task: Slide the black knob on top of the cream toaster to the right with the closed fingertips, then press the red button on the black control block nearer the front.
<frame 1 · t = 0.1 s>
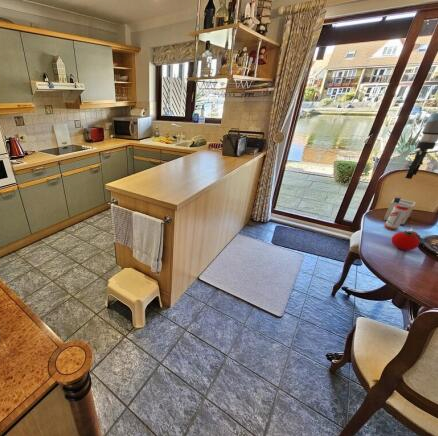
hand: (410, 176, 154), 29 cm above the table, tool pointing down, fingers open, 13 cm apart
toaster: (394, 220, 163), on the table
toaster slider: (397, 199, 157), point 15 cm above the table, slide at 0.0 cm
beer can: (390, 229, 153), on the table
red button: (412, 233, 138), point 4 cm above the table, slide at 0.1 cm
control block: (408, 240, 140), on the table
tomato: (400, 248, 134), on the table
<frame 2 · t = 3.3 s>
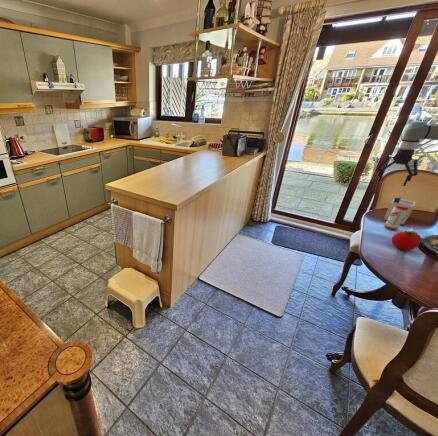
hand: (391, 183, 157), 24 cm above the table, tool pointing down, fingers open, 11 cm apart
nothing on the table moved.
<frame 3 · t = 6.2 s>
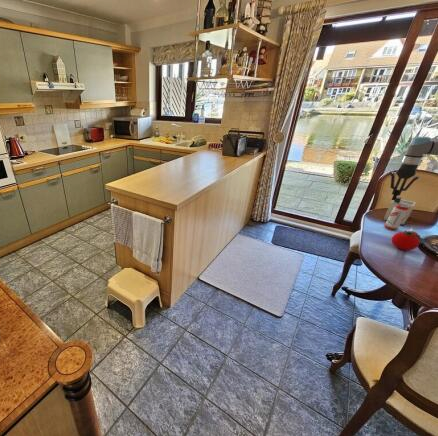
hand: (393, 199, 159), 14 cm above the table, tool pointing down, fingers closed
toaster slider: (397, 199, 157), point 15 cm above the table, slide at 0.2 cm, touching gripper
everything else where it was.
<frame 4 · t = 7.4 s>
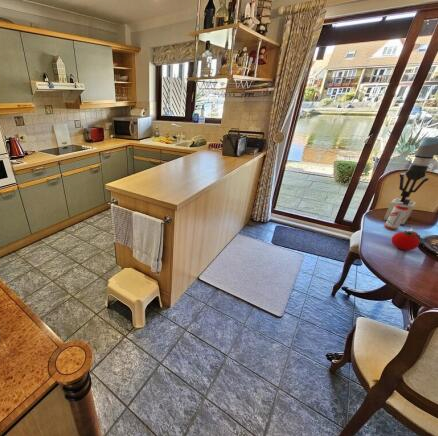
hand: (402, 201, 156), 14 cm above the table, tool pointing down, fingers closed
toaster slider: (406, 201, 154), point 15 cm above the table, slide at 4.4 cm, touching gripper
everything else where it was.
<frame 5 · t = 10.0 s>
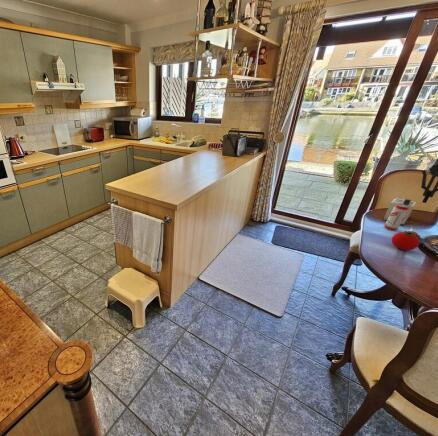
hand: (424, 202, 134), 22 cm above the table, tool pointing down, fingers closed
toaster slider: (407, 201, 154), point 15 cm above the table, slide at 4.7 cm
everything else where it was.
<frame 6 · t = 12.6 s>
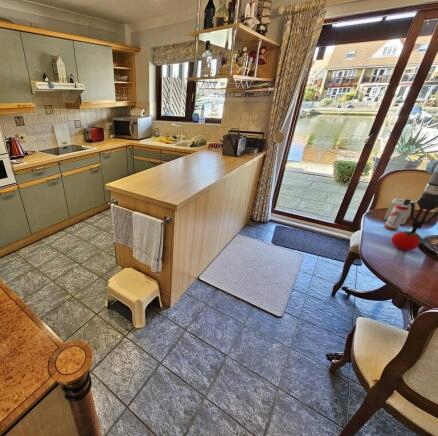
hand: (412, 232, 138), 5 cm above the table, tool pointing down, fingers closed
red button: (412, 234, 138), point 4 cm above the table, slide at -0.1 cm, touching gripper
everything else where it was.
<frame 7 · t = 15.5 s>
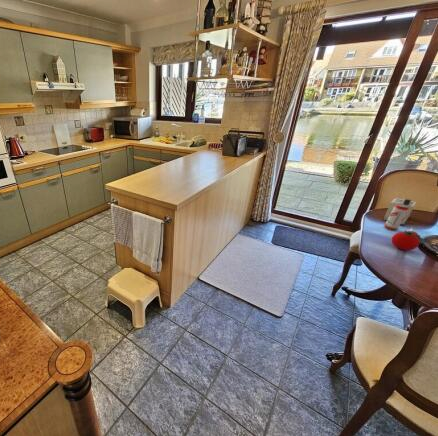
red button: (412, 233, 138), point 4 cm above the table, slide at 0.1 cm
everything else where it was.
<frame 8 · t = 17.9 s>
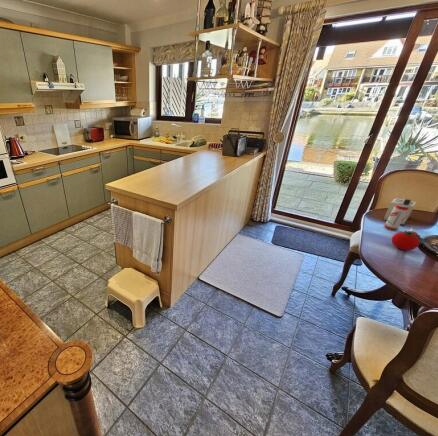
nothing on the table moved.
at the end: toaster slider slide at 4.7 cm; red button pushed in 1.0 cm at the most during the clip, back to where it started at the end; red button slide at 0.1 cm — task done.
